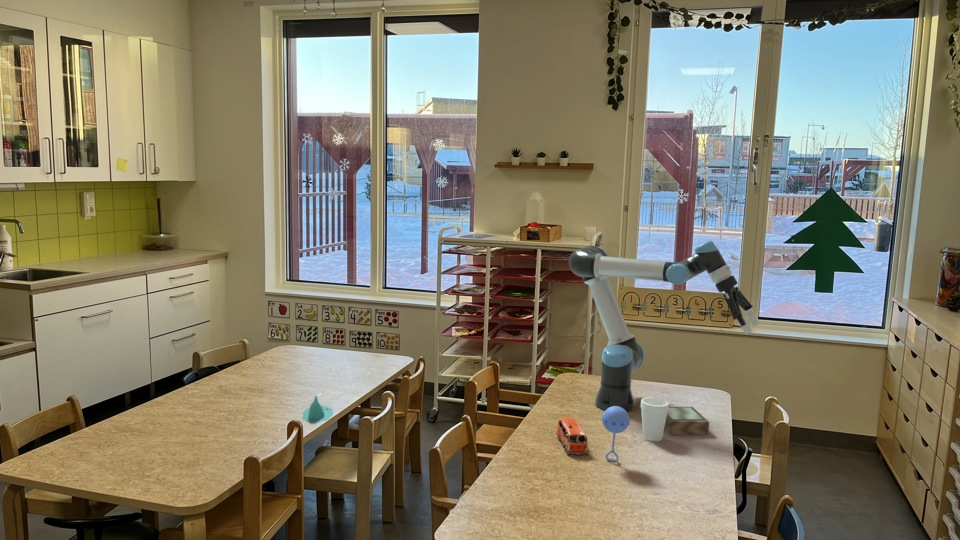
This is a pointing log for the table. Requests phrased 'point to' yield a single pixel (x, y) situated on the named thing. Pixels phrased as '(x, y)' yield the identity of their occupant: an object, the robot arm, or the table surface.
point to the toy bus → (572, 436)
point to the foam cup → (653, 417)
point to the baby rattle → (615, 423)
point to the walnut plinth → (685, 422)
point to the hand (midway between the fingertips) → (753, 329)
